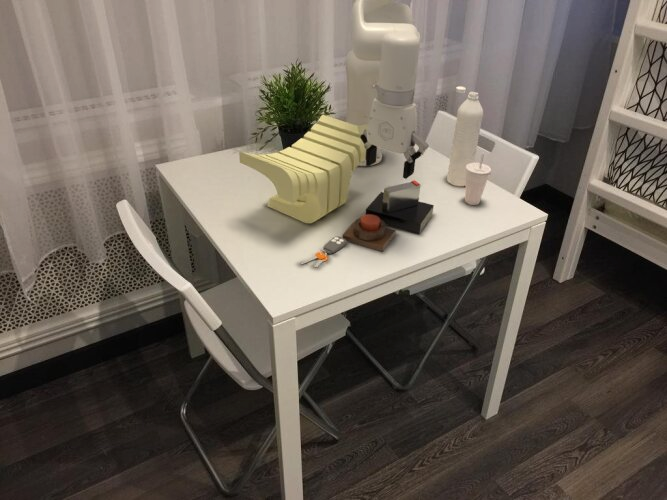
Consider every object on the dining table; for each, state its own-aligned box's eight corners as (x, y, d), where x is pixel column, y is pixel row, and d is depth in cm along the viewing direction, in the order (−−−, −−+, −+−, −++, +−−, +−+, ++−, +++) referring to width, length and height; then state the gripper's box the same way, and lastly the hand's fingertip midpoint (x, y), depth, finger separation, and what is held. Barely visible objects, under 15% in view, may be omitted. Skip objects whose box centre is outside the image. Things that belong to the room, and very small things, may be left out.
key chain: (334, 239, 136) (335, 233, 135) (348, 244, 134) (348, 239, 133) (300, 264, 127) (300, 259, 126) (314, 270, 125) (314, 265, 125)
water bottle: (475, 182, 162) (492, 94, 148) (459, 189, 159) (475, 98, 145) (451, 170, 168) (465, 84, 154) (435, 176, 164) (448, 88, 150)
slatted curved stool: (293, 242, 134) (293, 172, 124) (243, 219, 142) (239, 151, 132) (368, 194, 154) (373, 130, 144) (320, 176, 162) (322, 114, 152)
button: (357, 228, 134) (357, 221, 133) (364, 219, 138) (365, 212, 137) (375, 233, 133) (375, 226, 132) (382, 224, 136) (383, 217, 135)
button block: (342, 240, 136) (342, 227, 134) (356, 224, 142) (357, 211, 140) (382, 252, 132) (383, 238, 130) (395, 235, 138) (396, 222, 136)
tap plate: (364, 219, 144) (365, 209, 142) (380, 202, 151) (381, 191, 150) (419, 234, 139) (420, 223, 137) (432, 215, 146) (433, 205, 145)
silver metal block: (387, 213, 141) (389, 191, 137) (381, 208, 142) (383, 187, 139) (418, 205, 144) (420, 183, 141) (412, 200, 146) (415, 179, 143)
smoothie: (470, 209, 150) (479, 159, 142) (454, 198, 154) (463, 149, 146) (489, 204, 152) (500, 154, 144) (474, 193, 157) (483, 144, 149)
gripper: (351, 90, 124) (347, 164, 133) (423, 109, 115) (414, 187, 125) (371, 82, 129) (366, 154, 138) (441, 100, 121) (431, 175, 130)
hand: (388, 170), depth 132 cm, fingers open, 9 cm apart
